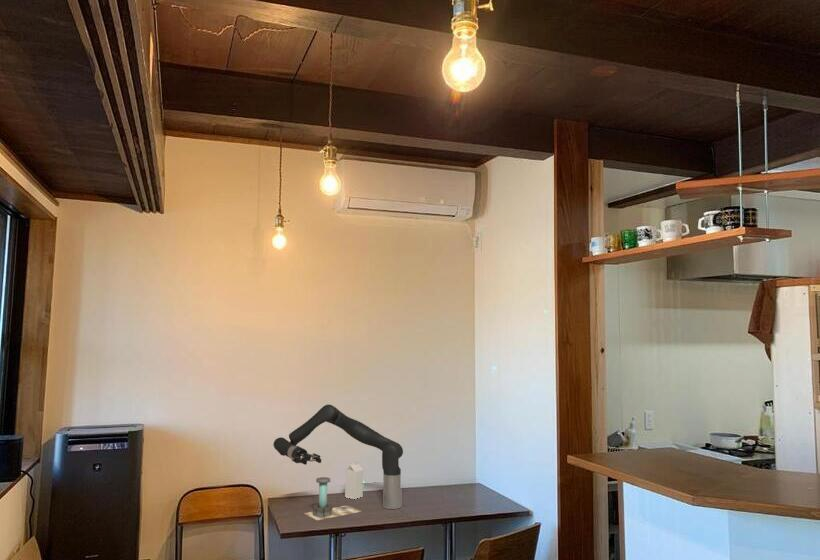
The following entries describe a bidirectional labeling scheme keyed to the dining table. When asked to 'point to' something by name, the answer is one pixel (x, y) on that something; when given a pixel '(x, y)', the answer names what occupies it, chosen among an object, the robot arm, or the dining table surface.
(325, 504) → the wheel peg
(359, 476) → the milk carton
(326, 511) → the eye board
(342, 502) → the dining table surface
